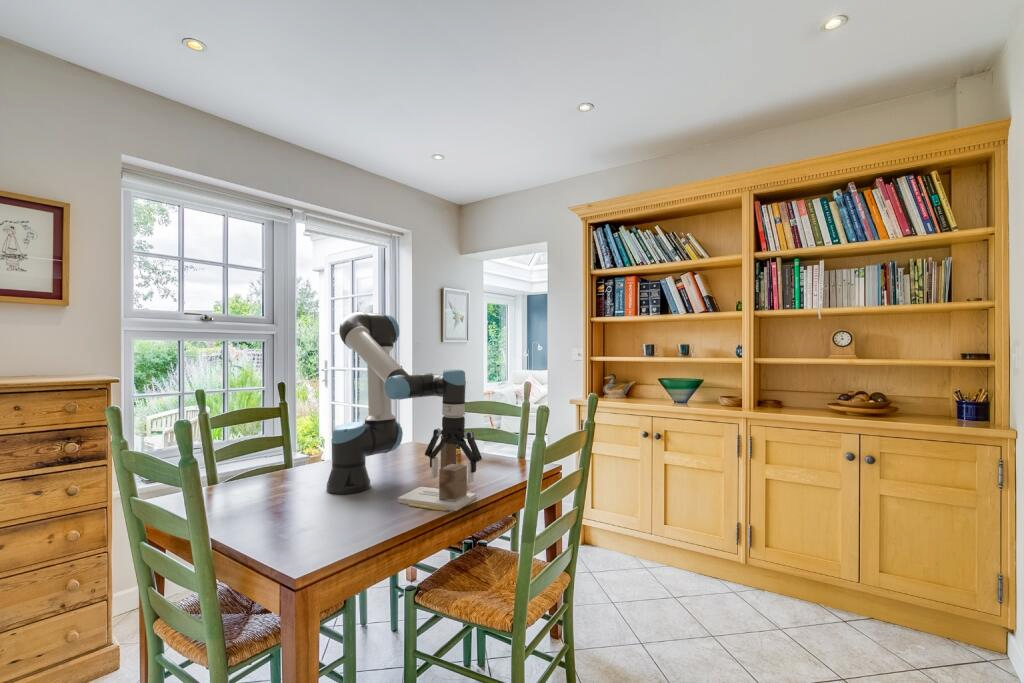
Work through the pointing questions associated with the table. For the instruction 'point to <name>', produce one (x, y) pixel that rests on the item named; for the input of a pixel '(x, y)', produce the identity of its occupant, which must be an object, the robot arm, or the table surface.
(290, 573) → the table surface
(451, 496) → the block
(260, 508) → the table surface
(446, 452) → the wooden block
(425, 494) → the board
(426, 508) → the pencil
